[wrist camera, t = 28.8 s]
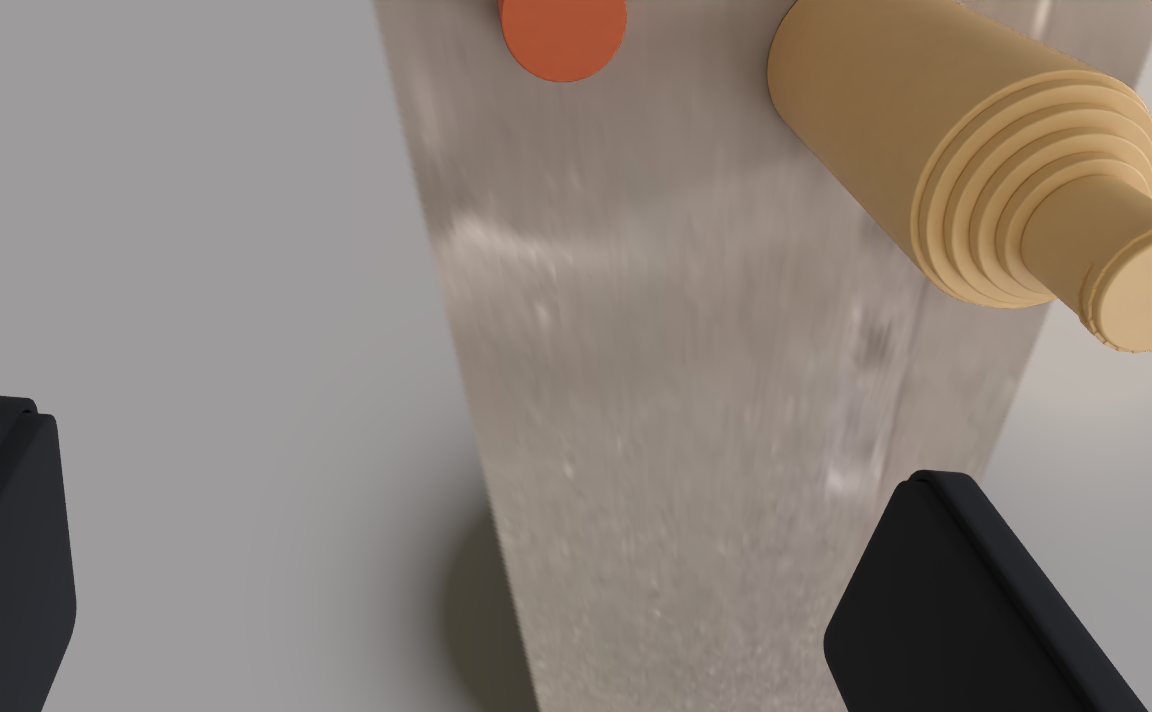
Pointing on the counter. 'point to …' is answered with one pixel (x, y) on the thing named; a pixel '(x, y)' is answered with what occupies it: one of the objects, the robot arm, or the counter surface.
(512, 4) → the cap
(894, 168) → the sauce bottle
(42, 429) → the robot arm
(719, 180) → the counter surface
